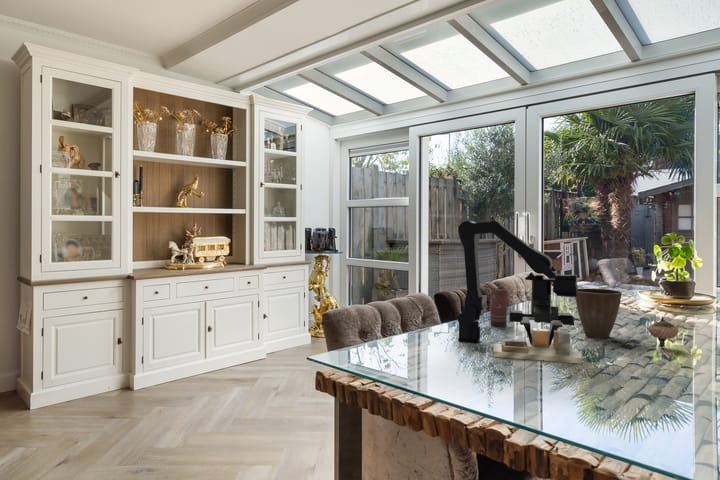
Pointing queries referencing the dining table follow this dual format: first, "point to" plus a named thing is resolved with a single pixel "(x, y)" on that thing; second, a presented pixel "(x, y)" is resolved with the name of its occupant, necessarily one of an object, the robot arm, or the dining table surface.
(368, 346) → the dining table surface
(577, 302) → the plant pot
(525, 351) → the cream wooden stand
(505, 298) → the brown rounded cylinder
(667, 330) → the lidded footed bowl
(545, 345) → the white wood-topped block
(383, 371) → the dining table surface
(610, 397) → the dining table surface
